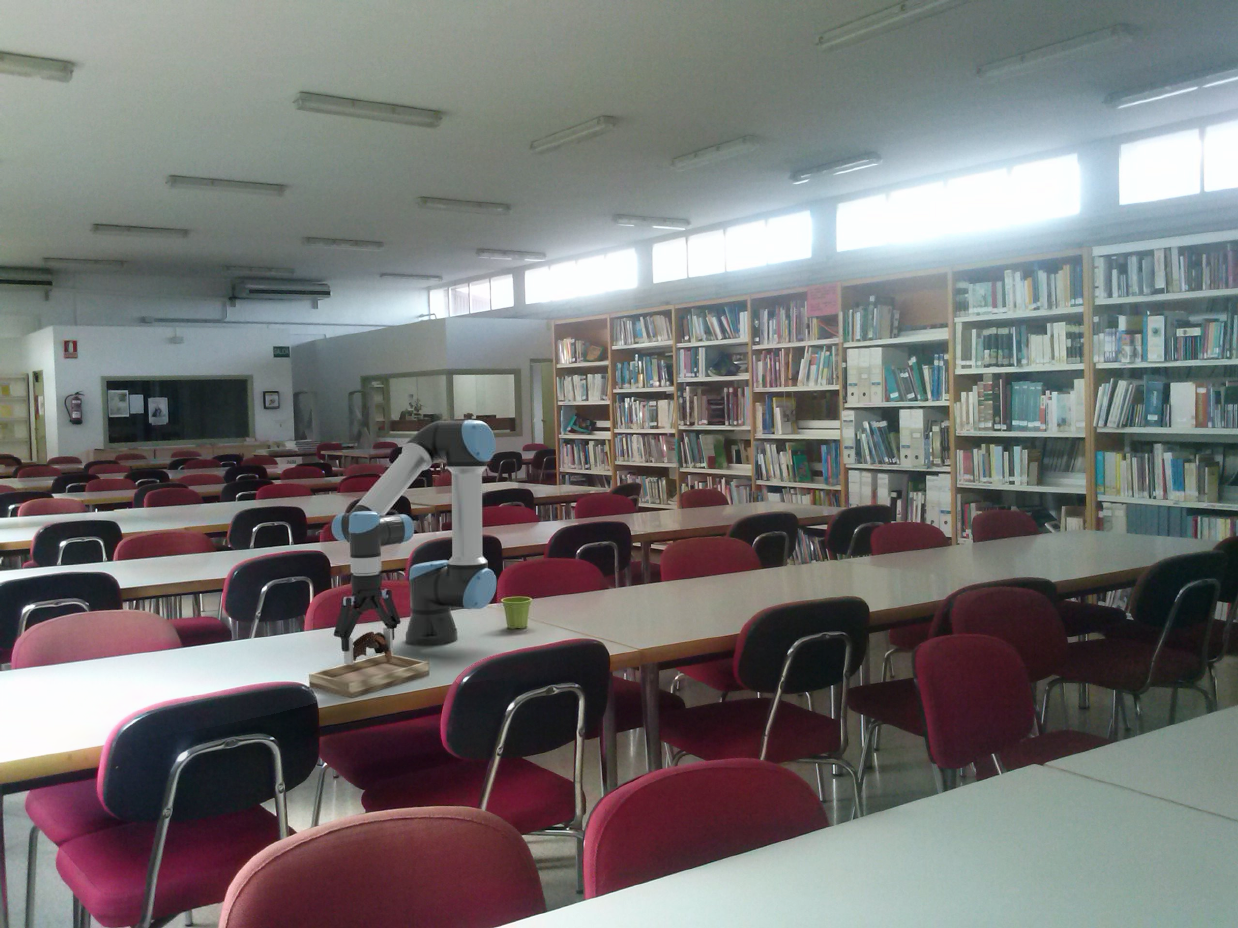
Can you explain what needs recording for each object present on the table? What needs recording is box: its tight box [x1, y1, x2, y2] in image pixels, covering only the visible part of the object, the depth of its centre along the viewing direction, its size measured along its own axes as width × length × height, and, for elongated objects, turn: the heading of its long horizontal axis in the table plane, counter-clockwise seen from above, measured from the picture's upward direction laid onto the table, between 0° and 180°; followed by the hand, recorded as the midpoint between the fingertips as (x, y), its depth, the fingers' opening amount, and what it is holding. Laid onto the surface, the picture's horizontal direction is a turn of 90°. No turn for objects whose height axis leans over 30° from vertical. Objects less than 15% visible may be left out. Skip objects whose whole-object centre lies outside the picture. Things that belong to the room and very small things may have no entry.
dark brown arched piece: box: [353, 631, 393, 662], centre depth 248 cm, size 12×10×8 cm
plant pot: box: [500, 596, 533, 630], centre depth 305 cm, size 9×9×9 cm
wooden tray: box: [308, 653, 430, 698], centre depth 249 cm, size 24×17×3 cm
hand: (369, 658), depth 248 cm, fingers closed on dark brown arched piece, 11 cm apart
